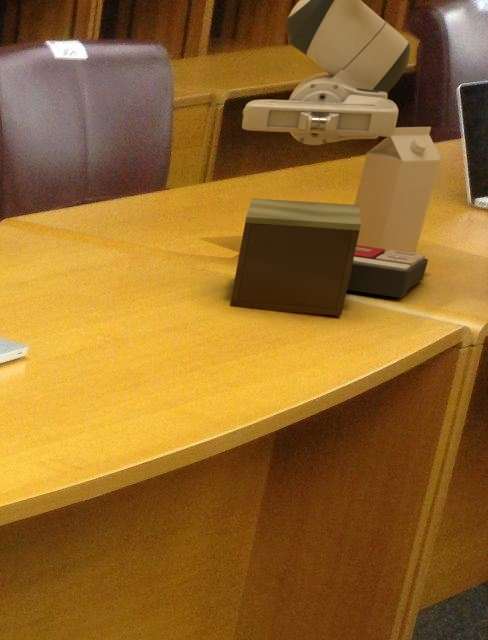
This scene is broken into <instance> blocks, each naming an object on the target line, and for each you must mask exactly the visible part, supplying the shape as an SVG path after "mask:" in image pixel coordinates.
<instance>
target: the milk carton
mask: <svg viewBox="0 0 488 640" xmlns="http://www.w3.org/2000/svg"><path fill="white" fill-rule="evenodd" d="M431 129H432V126H413V127H411V126H410V127H409V126H407V127H405V126H404V127H395V130H394V134H393V135H392V136H390V137H386V138H384V139H383V140H382V141H380V142H379V143H378V144H376V145H374V147H373V148H371V149H370V150H369V151H366V156H365V160H364V164H363V168H362V172H361V176H360V180H359V184H358V187H357V191H356V196H355V199H354V203H353V204H354V205H360V216H361V227H360V230H359V231H360V232H359V236H358V241H357V245H360V246H367V247H374V248H381V249H385V252H387V251H389V250H395V251H402V252H409V253H415V254H417V253H416V252H417V249H418V245H419V241H420V238H421V234H422V230H423V227H424V223H425V219H426V216H427V212H428V208H429V206H430V202H431V197H432V195H433V190H434V187H435V184H436V180H437V176H438V172H439V169H440V165H441V161H442V157H441V155H440V154H439V151H438V148H436V144H434V142H433V139H432V137H431V135H430V133H431Z"/></svg>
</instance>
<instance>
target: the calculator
mask: <svg viewBox="0 0 488 640" xmlns="http://www.w3.org/2000/svg"><path fill="white" fill-rule="evenodd" d="M428 262H429V259H428V258H426V255H425V254H422V253H409V252H402V251H395V250H389V251H387V252H385V249H381V248H374V247H367V246H360V245H357V246H356V250H355V255H354V259H353V264H352V269H351V273H350V278H349V282H348V287H347V291H354V292H360V293H366V294H373V295H377V296H386V297H391V298H396V299H401V298H403V297H404V296H405V295H407V293H408V291H409V289H411V288H412V287H414V286H415V285H417V284H418V283H420V282H421V281H423V279H424V277H425V273H426V270H427V267H428Z"/></svg>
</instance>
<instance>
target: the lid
mask: <svg viewBox="0 0 488 640" xmlns="http://www.w3.org/2000/svg"><path fill="white" fill-rule="evenodd" d="M245 223H253V224H269V225H284V226H299V227H314V228H329V229H344V230H360V227H361V216H360V205H354V203H353V204H352V203H336V202H321V201H320V202H318V201H305V200H304V201H303V200H287V199H269V198H251V200H250V203H249V206H248V210H247V213H246V216H245V221H244V224H245Z"/></svg>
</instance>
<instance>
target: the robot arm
mask: <svg viewBox="0 0 488 640" xmlns="http://www.w3.org/2000/svg"><path fill="white" fill-rule="evenodd" d="M286 37H287V41H288V44H289V45H290V46H292V47H293V48H295V49H296V50H297V51H299V52H300V53H302V54H303V55H304V56H308V58H310V59H311V60H312V61H313V62H315V64H316V65H317V66H319V67H320V68H321V69H322V70H324V71H325V72H320V73H315V74H312V75H310V76H307V77H306V78H305V79H303V80H302V81H300V82H299V84H297V86H296V87H295V88H294V89H293V91H292V93H291V94H290V96H289V99H266V98H265V99H253V100H251V101H248V103H246V104H245V107H244V108H243V110H242V112H241V113H242V115H243V117H242V123H241V128H242V130H245V131H254V132H256V131H257V132H277V133H279V132H280V133H290V135H291V136H292V137H293V138H294V139H295V140H296V141H298V142H300V143H302V144H304V145H309V146H319V145H324V144H328V143H336V142H340V141H352V140H354V141H355V140H375V139H378V138H379V137H384V138H385V137H386V138H387V137H390V136H392V135H393V134H394V130H395V128H396V126H397V122H398V117H399V108H398V105H397V104H396V103H395V102H394V101H393V100H391V99H388V93H389V92H390V91H391V89H393V87H394V86H395V85H396V84H397V83H398V82H399V80H400V79H401V77H402V76H403V75H404V74H405V71H407V70H406V69H407V68H408V65H409V61H410V54H411V42H410V41H408V40H407V38H405V37H404V36H403V35H402V34H401V33H400V32H399V31H398V30H397V29H396V28H394V27H393V25H391V24H390V23H389V22H388V21H385V19H383V18H382V17H381V16H379V14H378V13H376V12H375V11H374V10H373V9H371V8H370V7H369V6H368V4H366V3H365V2H364V1H363V0H299V1H297V3H296V4H295V5H294V6H293V8H292V10H290V13H289V15H288V16H287V17H286Z"/></svg>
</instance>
